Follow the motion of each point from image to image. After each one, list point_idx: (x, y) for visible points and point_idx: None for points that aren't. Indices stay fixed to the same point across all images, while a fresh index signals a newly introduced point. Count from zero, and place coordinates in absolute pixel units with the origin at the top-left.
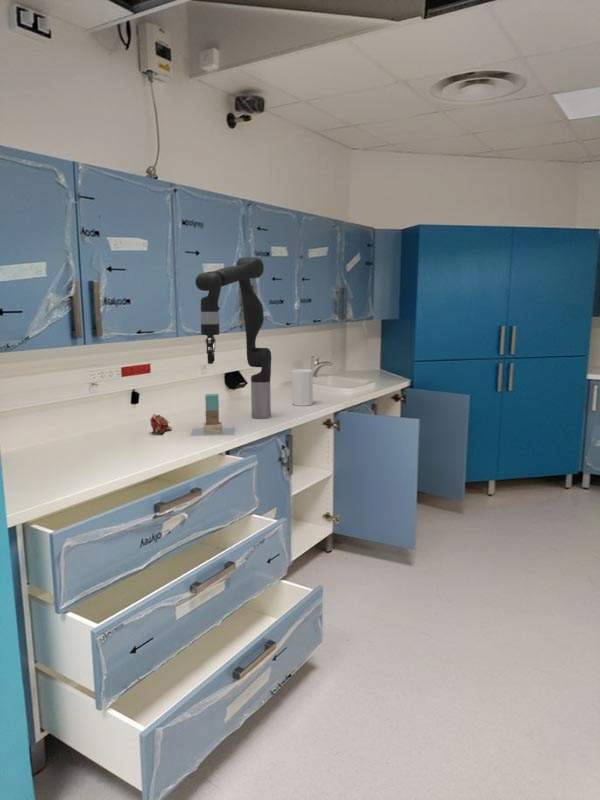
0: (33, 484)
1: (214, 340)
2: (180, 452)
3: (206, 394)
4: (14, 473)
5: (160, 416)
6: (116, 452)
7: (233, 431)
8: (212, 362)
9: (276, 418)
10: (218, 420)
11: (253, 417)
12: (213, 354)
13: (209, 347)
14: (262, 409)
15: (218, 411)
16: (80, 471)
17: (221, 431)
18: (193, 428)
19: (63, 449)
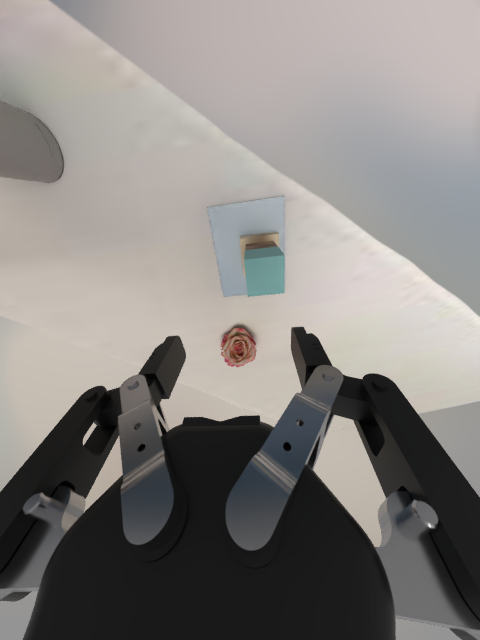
0: (459, 394)
1: (273, 529)
2: (381, 285)
3: (253, 294)
4: None
5: (229, 355)
6: (349, 362)
7: (250, 204)
8: (303, 332)
9: (27, 81)
10: (262, 243)
11: (60, 174)
12: (163, 367)
13: (321, 443)
14: (29, 130)
15: (251, 248)
16: (429, 373)
17: (252, 234)
18: (223, 295)
19: None
